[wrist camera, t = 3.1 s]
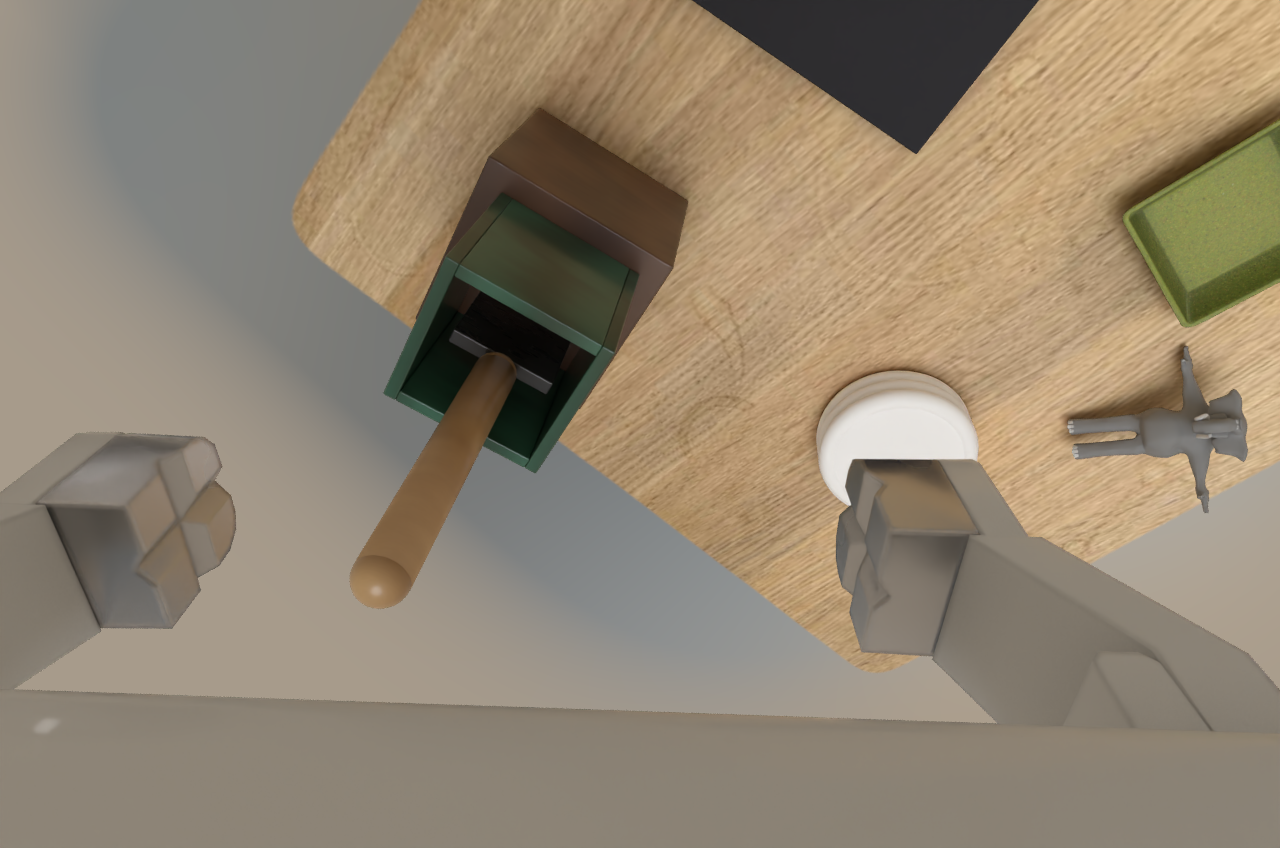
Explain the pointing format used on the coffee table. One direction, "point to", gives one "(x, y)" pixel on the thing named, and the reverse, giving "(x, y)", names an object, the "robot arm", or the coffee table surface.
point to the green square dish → (1215, 230)
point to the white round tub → (892, 424)
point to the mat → (882, 51)
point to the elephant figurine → (1174, 430)
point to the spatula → (454, 444)
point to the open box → (544, 276)
